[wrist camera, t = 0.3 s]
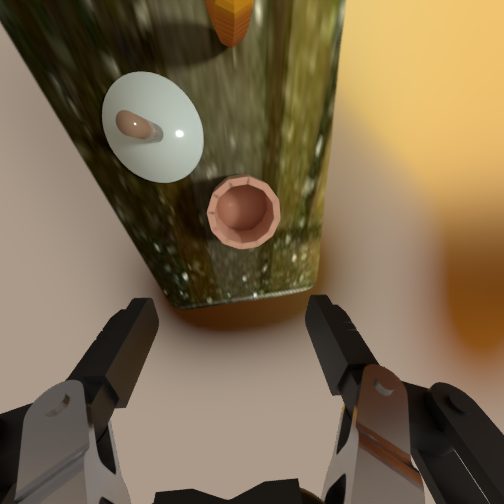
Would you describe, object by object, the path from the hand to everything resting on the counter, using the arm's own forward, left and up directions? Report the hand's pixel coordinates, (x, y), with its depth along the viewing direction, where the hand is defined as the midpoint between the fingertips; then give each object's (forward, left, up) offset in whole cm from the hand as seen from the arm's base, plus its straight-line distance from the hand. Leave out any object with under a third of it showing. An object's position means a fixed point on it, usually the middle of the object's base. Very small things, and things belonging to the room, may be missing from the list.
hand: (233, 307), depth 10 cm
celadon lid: (-12, -9, -28) cm, 32 cm away
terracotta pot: (+1, +2, -28) cm, 28 cm away
